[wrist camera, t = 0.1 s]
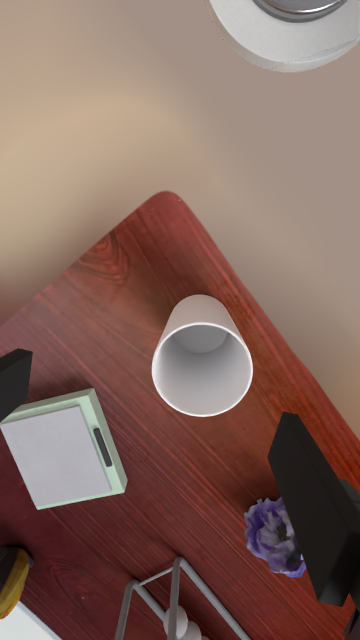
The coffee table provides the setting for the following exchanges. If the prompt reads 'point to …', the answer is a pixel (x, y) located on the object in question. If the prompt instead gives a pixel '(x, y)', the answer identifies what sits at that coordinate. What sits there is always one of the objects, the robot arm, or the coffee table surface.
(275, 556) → the flower
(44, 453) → the scale
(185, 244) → the coffee table surface
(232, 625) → the newton's cradle
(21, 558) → the figurine
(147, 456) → the coffee table surface
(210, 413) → the cup
